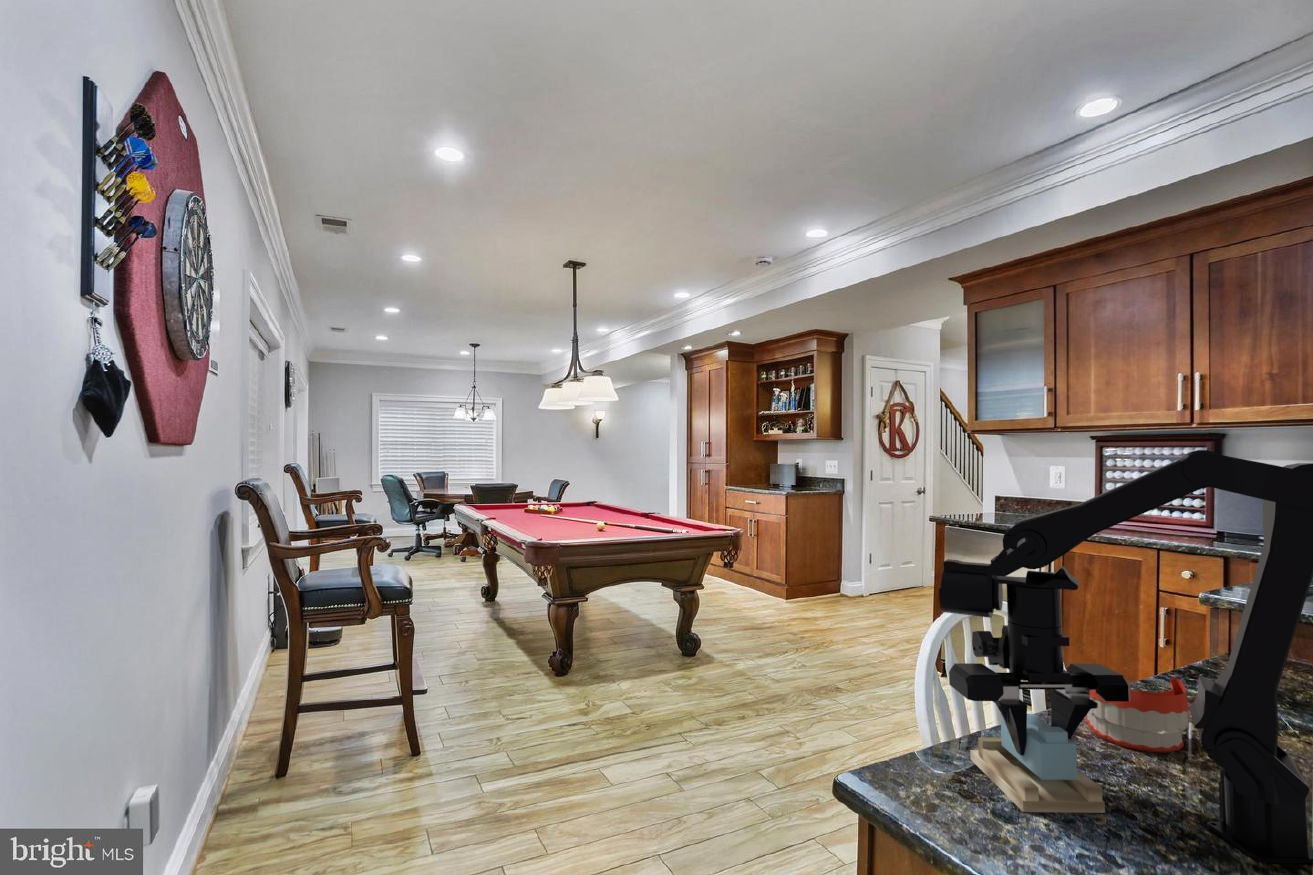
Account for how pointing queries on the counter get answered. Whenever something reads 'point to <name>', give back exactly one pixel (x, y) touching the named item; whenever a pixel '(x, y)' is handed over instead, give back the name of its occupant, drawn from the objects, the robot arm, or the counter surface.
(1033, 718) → the blue stepped block
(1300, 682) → the counter surface
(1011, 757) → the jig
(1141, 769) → the counter surface
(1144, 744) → the toy
